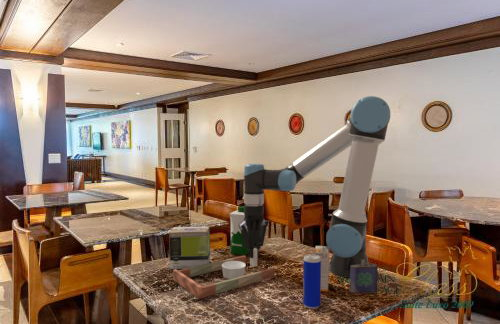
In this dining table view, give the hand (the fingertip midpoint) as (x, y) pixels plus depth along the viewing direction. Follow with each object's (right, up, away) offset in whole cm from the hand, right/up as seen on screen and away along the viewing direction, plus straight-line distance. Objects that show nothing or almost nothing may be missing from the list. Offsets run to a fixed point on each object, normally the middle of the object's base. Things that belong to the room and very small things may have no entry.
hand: (253, 265), depth 139 cm
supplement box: (+23, -3, -15) cm, 28 cm away
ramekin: (-7, -3, -5) cm, 9 cm away
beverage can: (+17, -4, -30) cm, 34 cm away
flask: (+36, -3, -19) cm, 41 cm away
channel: (-10, -2, -8) cm, 13 cm away
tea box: (-25, -2, +6) cm, 26 cm away
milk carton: (-5, -1, +23) cm, 24 cm away
